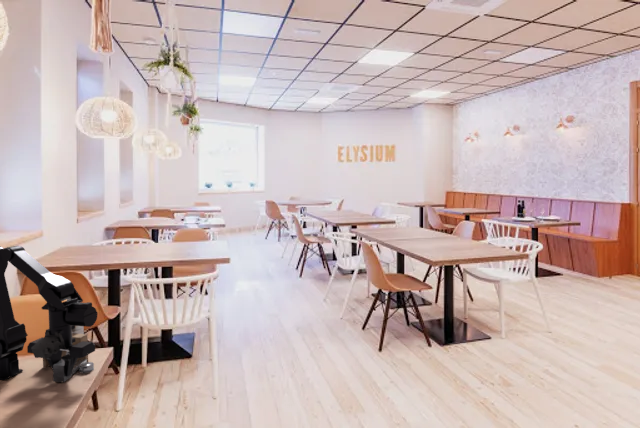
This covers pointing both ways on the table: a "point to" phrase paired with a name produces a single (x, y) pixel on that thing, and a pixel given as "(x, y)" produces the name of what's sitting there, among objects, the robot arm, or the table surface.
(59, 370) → the grey mallet
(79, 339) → the plinth cabinet
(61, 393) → the table surface
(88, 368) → the steel token
